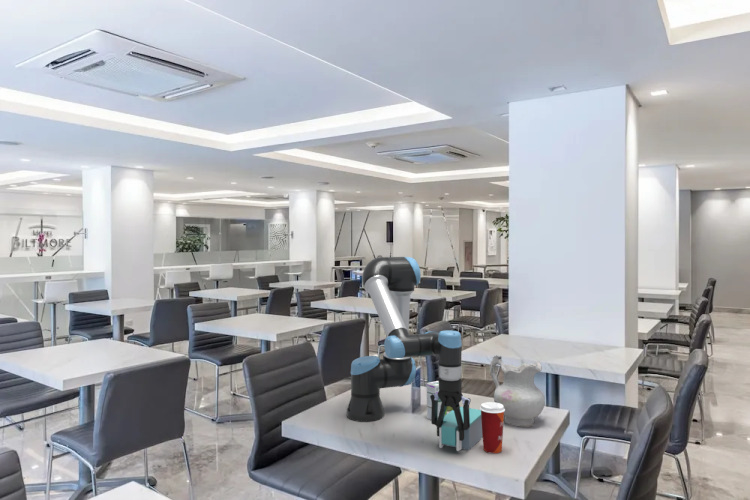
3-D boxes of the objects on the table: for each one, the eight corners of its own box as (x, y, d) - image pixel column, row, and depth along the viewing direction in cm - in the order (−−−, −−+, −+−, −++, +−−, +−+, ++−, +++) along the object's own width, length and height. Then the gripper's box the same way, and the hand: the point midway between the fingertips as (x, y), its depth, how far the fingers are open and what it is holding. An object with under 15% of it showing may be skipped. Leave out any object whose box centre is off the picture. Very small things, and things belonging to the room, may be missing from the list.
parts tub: (469, 450, 170) (469, 426, 171) (441, 444, 175) (441, 421, 176) (482, 436, 183) (482, 414, 183) (456, 432, 188) (456, 410, 188)
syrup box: (435, 422, 198) (435, 385, 198) (426, 418, 203) (426, 382, 203) (447, 419, 201) (446, 383, 201) (437, 415, 206) (437, 380, 206)
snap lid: (463, 447, 165) (463, 429, 165) (433, 441, 170) (433, 424, 170) (485, 426, 185) (485, 410, 185) (457, 421, 190) (457, 406, 190)
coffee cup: (508, 454, 167) (508, 408, 167) (484, 455, 166) (483, 409, 166) (500, 444, 175) (500, 400, 175) (476, 445, 175) (476, 401, 175)
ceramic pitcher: (482, 426, 197) (480, 363, 195) (495, 408, 214) (493, 350, 212) (540, 435, 187) (539, 369, 185) (548, 416, 204) (548, 355, 202)
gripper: (420, 377, 170) (420, 446, 170) (472, 384, 161) (473, 457, 161) (429, 372, 177) (429, 439, 177) (480, 378, 168) (480, 449, 168)
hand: (450, 447), depth 169 cm, fingers open, 5 cm apart
